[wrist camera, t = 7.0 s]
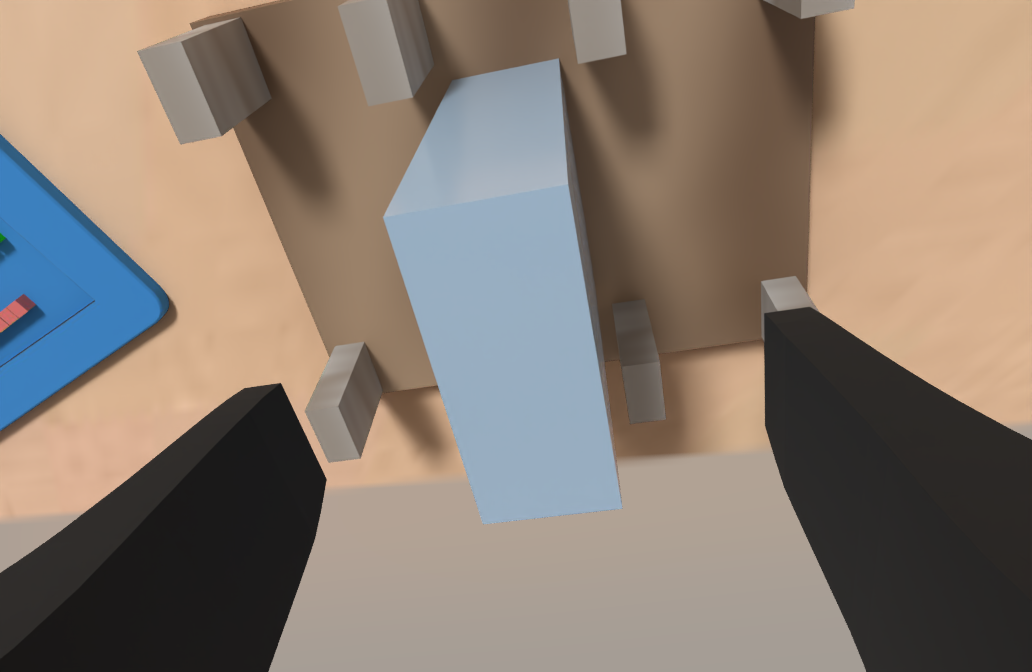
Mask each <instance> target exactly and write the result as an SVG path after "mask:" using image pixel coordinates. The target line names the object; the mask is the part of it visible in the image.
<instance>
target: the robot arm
mask: <svg viewBox="0 0 1032 672" xmlns="http://www.w3.org/2000/svg"><path fill="white" fill-rule="evenodd" d="M764 355H765V427H766V430H767V434H768V437H769V440H770V444H771V447H772V450H773V454H774V456H775V460H776V463H777V466H778V469H779V473H780V476H781V479H782V482H783V485H784V488H785V490H786V492H787V494H788V497H789V499H790V501H791V504H792V506H793V508H794V510H795V512H796V515H797V517H798V519H799V521H800V523H801V526H802V528H803V530H804V532H805V534H806V537H807V539H808V541H809V543H810V545H811V547H812V550H813V552H814V554H815V556H816V558H817V560H818V563H819V565H820V567H821V569H822V571H823V573H824V575H825V578H826V580H827V582H828V584H829V586H830V589H831V590H832V593H833V595H834V597H835V599H836V601H837V604H838V606H839V608H840V610H841V612H842V615H843V617H844V619H845V621H846V623H847V625H848V628H849V630H850V632H851V635H852V637H853V639H854V642H855V644H856V646H857V649H858V651H859V654H860V656H861V659H862V661H863V664H864V666H865V669H866V672H1032V440H1031V439H1029V438H1027V437H1025V436H1023V435H1021V434H1019V433H1017V432H1015V431H1013V430H1011V429H1009V428H1007V427H1006V426H1004V425H1002V424H1000V423H998V422H996V421H995V420H993V419H991V418H989V417H987V416H985V415H984V414H982V413H980V412H978V411H976V410H974V409H973V408H971V407H969V406H967V405H965V404H964V403H962V402H960V401H958V400H956V399H955V398H953V397H951V396H950V395H948V394H946V393H944V392H943V391H941V390H939V389H938V388H936V387H934V386H932V385H931V384H929V383H928V382H926V381H924V380H923V379H921V378H919V377H918V376H916V375H914V374H913V373H911V372H910V371H908V370H906V369H905V368H903V367H902V366H900V365H898V364H897V363H895V362H894V361H892V360H891V359H889V358H888V357H886V356H884V355H883V354H881V353H880V352H878V351H877V350H875V349H874V348H872V347H871V346H869V345H868V344H866V343H865V342H863V341H862V340H860V339H859V338H857V337H856V336H854V335H853V334H851V333H850V332H848V331H847V330H845V329H844V328H842V327H841V326H839V325H838V324H836V323H835V322H833V321H832V320H830V319H829V318H827V317H826V316H824V315H823V314H821V313H820V312H818V311H816V310H815V309H813V308H812V307H803V308H796V309H790V310H783V311H776V312H769V313H764ZM326 480H327V479H326V477H325V475H324V473H323V471H322V469H321V467H320V464H319V462H318V460H317V458H316V456H315V454H314V452H313V450H312V448H311V445H310V443H309V441H308V439H307V437H306V435H305V433H304V431H303V429H302V427H301V424H300V422H299V420H298V418H297V416H296V414H295V412H294V410H293V408H292V405H291V403H290V401H289V399H288V397H287V395H286V393H285V391H284V389H283V387H282V384H281V383H278V384H271V385H264V386H257V387H250V388H244V389H243V390H241V391H240V392H238V393H237V394H235V395H233V396H232V397H231V398H229V399H228V400H226V401H225V402H224V403H222V404H221V405H220V406H218V407H217V408H216V409H214V410H213V411H212V412H211V413H209V414H208V415H207V416H205V417H204V418H203V419H202V420H200V421H199V422H198V423H197V424H196V425H194V426H193V427H192V428H191V429H189V430H188V431H187V432H186V433H184V434H183V435H182V436H181V437H180V438H178V439H177V440H176V441H175V442H173V443H172V444H171V445H170V446H168V447H167V448H166V449H165V450H164V451H162V452H161V453H160V454H159V455H157V456H156V457H155V458H154V459H152V460H151V461H150V462H149V463H148V464H146V465H145V466H144V467H143V468H141V469H140V470H139V471H138V472H136V473H135V474H134V475H133V476H132V477H130V478H129V479H128V480H127V481H125V482H124V483H123V484H121V485H120V486H119V487H117V488H116V489H115V490H114V491H112V492H111V493H110V494H108V495H107V496H106V497H104V498H103V499H102V500H101V501H99V502H98V503H97V504H95V505H94V506H93V507H91V508H90V509H89V510H88V511H86V512H85V513H84V514H82V515H81V516H80V517H78V518H77V519H76V520H74V521H73V522H72V523H71V524H69V525H68V526H67V527H65V528H64V529H63V530H62V531H60V532H59V533H57V534H56V535H55V536H53V537H52V538H50V539H49V540H48V541H46V542H45V543H43V544H42V545H41V546H39V547H38V548H36V549H35V550H34V551H32V552H31V553H29V554H28V555H26V556H25V557H23V558H22V559H21V560H19V561H18V562H16V563H15V564H13V565H12V566H10V567H9V568H7V569H6V570H4V571H3V572H1V573H0V672H268V671H269V668H270V665H271V662H272V660H273V657H274V654H275V651H276V649H277V646H278V643H279V640H280V637H281V634H282V632H283V629H284V626H285V623H286V621H287V618H288V615H289V612H290V609H291V607H292V604H293V601H294V598H295V595H296V592H297V590H298V587H299V584H300V581H301V578H302V575H303V572H304V570H305V567H306V564H307V561H308V558H309V555H310V552H311V549H312V546H313V543H314V540H315V536H316V532H317V527H318V522H319V517H320V513H321V508H322V503H323V497H324V491H325V486H326Z"/></svg>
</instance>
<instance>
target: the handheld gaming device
mask: <svg viewBox="0 0 1032 672" xmlns="http://www.w3.org/2000/svg"><path fill="white" fill-rule="evenodd" d="M168 308H169V300H168V297H167V295H166V293H165V291H164V290H163V289H162V288H161V287H160V286H159V285H158V284H157V283H156V282H155V281H154V280H153V279H152V278H151V277H150V276H149V275H148V274H147V273H146V272H145V271H144V270H143V269H142V268H141V267H140V266H138V265H137V264H136V263H135V262H134V261H133V260H132V259H131V258H130V257H129V256H128V255H127V254H126V253H125V252H124V251H123V250H122V249H121V248H120V247H118V246H117V245H116V244H115V243H114V242H113V241H112V240H111V239H110V238H109V237H108V236H107V235H106V234H105V233H104V232H103V231H102V230H101V229H100V228H98V227H97V226H96V225H95V224H94V223H93V222H92V221H91V220H90V219H89V218H88V217H87V216H86V215H85V214H84V213H83V212H82V211H81V210H80V209H78V208H77V207H76V206H75V205H74V204H73V203H72V202H71V201H70V200H69V199H68V198H67V197H66V196H65V195H64V194H63V193H62V192H61V191H60V190H58V189H57V188H56V187H55V186H54V185H53V184H52V183H51V182H50V181H49V180H48V179H47V178H46V177H45V176H44V175H43V174H42V173H41V172H40V171H38V170H37V169H36V168H35V167H34V166H33V165H32V164H31V163H30V162H29V161H28V160H27V159H26V158H25V157H24V156H23V155H22V154H21V153H20V152H18V151H17V150H16V149H15V148H14V147H13V146H12V145H11V144H10V143H9V142H8V141H7V140H6V139H5V138H4V137H3V136H2V135H1V134H0V431H1V430H3V429H4V428H6V427H7V426H9V425H10V424H11V423H13V422H14V421H16V420H17V419H19V418H20V417H22V416H23V415H24V414H26V413H27V412H29V411H30V410H32V409H33V408H34V407H36V406H37V405H39V404H40V403H42V402H43V401H45V400H46V399H47V398H49V397H50V396H52V395H53V394H55V393H56V392H58V391H59V390H60V389H62V388H63V387H65V386H66V385H68V384H69V383H71V382H72V381H73V380H75V379H76V378H78V377H79V376H81V375H82V374H84V373H85V372H86V371H88V370H89V369H91V368H92V367H94V366H95V365H97V364H98V363H99V362H101V361H102V360H104V359H105V358H107V357H108V356H109V355H111V354H112V353H114V352H115V351H117V350H118V349H120V348H121V347H122V346H124V345H125V344H127V343H128V342H130V341H131V340H133V339H134V338H135V337H137V336H138V335H140V334H141V333H143V332H144V331H146V330H147V329H148V328H150V327H151V326H153V325H154V324H156V323H157V322H158V321H159V320H160V319H161V318H162V317H163V316H164V315H165V313H166V312H167V311H168Z"/></svg>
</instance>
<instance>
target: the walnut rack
mask: <svg viewBox="0 0 1032 672" xmlns="http://www.w3.org/2000/svg"><path fill="white" fill-rule="evenodd" d="M854 2H855V0H279V1H275V2H271V3H266V4H262V5H258V6H253V7H249V8H244V9H240V10H236V11H231V12H227V13H223V14H218V15H214V16H209V17H206V18H204V19H201V20H198V21H195V22H193V23H190V25H191V28H192V30H191V31H188V32H186V33H183V34H181V35H178V36H176V37H173V38H170V39H168V40H165V41H163V42H160V43H157V44H155V45H152V46H150V47H147V48H145V49H142V50H139V51H137V52H138V54H139V56H140V59H141V61H142V63H143V65H144V67H145V69H146V71H147V74H148V76H149V78H150V80H151V82H152V84H153V87H154V89H155V91H156V93H157V95H158V97H159V99H160V102H161V104H162V106H163V108H164V110H165V112H166V114H167V117H168V119H169V121H170V123H171V125H172V127H173V129H174V132H175V134H176V136H177V138H178V140H179V142H180V144H185V143H190V142H195V141H200V140H205V139H210V138H215V137H220V136H222V135H224V134H225V133H226V132H228V131H229V130H230V129H232V128H234V131H235V133H236V135H237V138H238V140H239V142H240V145H241V147H242V150H243V152H244V154H245V157H246V159H247V162H248V164H249V166H250V169H251V171H252V173H253V176H254V178H255V181H256V183H257V185H258V188H259V190H260V193H261V195H262V197H263V200H264V202H265V205H266V207H267V209H268V212H269V214H270V216H271V219H272V221H273V224H274V226H275V228H276V231H277V233H278V236H279V238H280V240H281V243H282V245H283V247H284V250H285V252H286V255H287V257H288V259H289V262H290V264H291V267H292V269H293V271H294V274H295V276H296V279H297V281H298V283H299V286H300V288H301V290H302V293H303V295H304V298H305V300H306V302H307V305H308V307H309V310H310V312H311V314H312V317H313V319H314V321H315V324H316V326H317V329H318V331H319V333H320V336H321V338H322V341H323V343H324V345H325V348H326V350H327V353H328V355H329V357H330V358H329V360H328V362H327V365H326V367H325V369H324V371H323V373H322V375H321V377H320V380H319V382H318V384H317V386H316V388H315V390H314V392H313V395H312V397H311V399H310V401H309V403H308V405H307V407H306V410H305V413H306V415H307V417H308V419H309V421H310V424H311V426H312V428H313V430H314V432H315V434H316V436H317V439H318V441H319V443H320V445H321V447H322V449H323V451H324V454H325V456H326V458H327V460H328V462H329V463H330V462H338V461H345V460H353V459H360V458H361V455H362V452H363V449H364V446H365V443H366V440H367V437H368V434H369V431H370V428H371V425H372V422H373V419H374V416H375V413H376V410H377V407H378V404H379V401H380V398H381V395H382V393H387V392H394V391H401V390H408V389H415V388H423V387H430V386H437V385H438V384H437V381H436V378H435V375H434V372H433V369H432V366H431V363H430V360H429V357H428V354H427V351H426V348H425V345H424V342H423V338H422V335H421V332H420V329H419V326H418V323H417V320H416V317H415V314H414V311H413V308H412V305H411V302H410V299H409V296H408V292H407V289H406V286H405V283H404V280H403V277H402V274H401V271H400V268H399V265H398V262H397V259H396V256H395V253H394V250H393V247H392V243H391V240H390V237H389V234H388V231H387V228H386V225H385V222H384V219H383V216H384V214H385V212H386V210H387V208H388V206H389V204H390V202H391V201H392V199H393V197H394V195H395V193H396V191H397V189H398V187H399V185H400V183H401V181H402V179H403V177H404V175H405V173H406V171H407V169H408V167H409V165H410V163H411V161H412V159H413V157H414V155H415V153H416V151H417V149H418V147H419V145H420V143H421V141H422V139H423V137H424V135H425V133H426V131H427V129H428V127H429V125H430V123H431V121H432V119H433V117H434V115H435V113H436V111H437V109H438V107H439V105H440V103H441V101H442V99H443V97H444V95H445V93H446V91H447V89H448V88H449V86H450V84H451V82H452V80H456V79H461V78H466V77H470V76H475V75H480V74H485V73H490V72H495V71H500V70H505V69H509V68H514V67H519V66H524V65H529V64H534V63H539V62H544V61H549V60H553V59H558V58H559V62H560V69H561V75H562V81H563V87H564V94H565V100H566V106H567V113H568V119H569V125H570V131H571V138H572V144H573V150H574V157H575V163H576V169H577V176H578V182H579V188H580V194H581V201H582V207H583V213H584V220H585V226H586V232H587V239H588V245H589V251H590V257H591V264H592V270H593V276H594V283H595V289H596V297H597V306H598V314H599V322H600V330H601V338H602V346H603V354H604V362H607V361H614V360H620V363H621V369H622V376H623V382H624V388H625V395H626V401H627V407H628V414H629V420H630V424H635V423H642V422H650V421H658V420H666V415H665V406H664V396H663V387H662V378H661V369H660V361H659V356H658V354H663V353H671V352H678V351H685V350H692V349H699V348H706V347H713V346H720V345H727V344H734V343H741V342H749V341H756V340H763V341H764V313H769V312H776V311H783V310H790V309H796V308H803V307H812V308H813V309H815V310H816V311H818V309H817V308H816V306H815V305H814V303H813V302H812V300H811V299H810V297H809V296H808V294H807V271H808V237H809V202H810V168H811V134H812V99H813V65H814V31H815V16H818V15H823V14H828V13H833V12H838V11H843V10H848V9H853V8H854ZM818 312H819V311H818Z"/></svg>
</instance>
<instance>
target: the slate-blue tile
mask: <svg viewBox="0 0 1032 672" xmlns="http://www.w3.org/2000/svg"><path fill="white" fill-rule="evenodd" d="M383 219H384V222H385V225H386V228H387V231H388V234H389V237H390V240H391V243H392V247H393V250H394V253H395V256H396V259H397V262H398V265H399V268H400V271H401V274H402V277H403V280H404V283H405V286H406V289H407V292H408V296H409V299H410V302H411V305H412V308H413V311H414V314H415V317H416V320H417V323H418V326H419V329H420V332H421V335H422V338H423V342H424V345H425V348H426V351H427V354H428V357H429V360H430V363H431V366H432V369H433V372H434V375H435V378H436V381H437V384H438V388H439V391H440V394H441V397H442V400H443V403H444V406H445V409H446V412H447V415H448V418H449V421H450V424H451V427H452V430H453V433H454V437H455V440H456V443H457V446H458V449H459V452H460V455H461V458H462V461H463V464H464V467H465V470H466V473H467V476H468V479H469V483H470V486H471V488H472V491H473V495H474V498H475V501H476V504H477V507H478V510H479V513H480V516H481V519H482V522H483V524H490V523H498V522H507V521H517V520H525V519H534V518H543V517H552V516H561V515H570V514H579V513H588V512H597V511H605V510H615V509H622V501H621V494H620V485H619V477H618V468H617V460H616V452H615V444H614V436H613V428H612V419H611V411H610V403H609V395H608V387H607V379H606V371H605V363H604V354H603V346H602V338H601V330H600V322H599V314H598V306H597V297H596V289H595V283H594V276H593V270H592V264H591V257H590V251H589V245H588V239H587V232H586V226H585V220H584V213H583V207H582V201H581V194H580V188H579V182H578V176H577V169H576V163H575V157H574V150H573V144H572V138H571V131H570V125H569V119H568V113H567V106H566V100H565V94H564V87H563V81H562V75H561V69H560V62H559V58H558V59H553V60H549V61H544V62H539V63H534V64H529V65H524V66H519V67H514V68H509V69H505V70H500V71H495V72H490V73H485V74H480V75H475V76H470V77H466V78H461V79H456V80H452V82H451V84H450V86H449V88H448V89H447V91H446V93H445V95H444V97H443V99H442V101H441V103H440V105H439V107H438V109H437V111H436V113H435V115H434V117H433V119H432V121H431V123H430V125H429V127H428V129H427V131H426V133H425V135H424V137H423V139H422V141H421V143H420V145H419V147H418V149H417V151H416V153H415V155H414V157H413V159H412V161H411V163H410V165H409V167H408V169H407V171H406V173H405V175H404V177H403V179H402V181H401V183H400V185H399V187H398V189H397V191H396V193H395V195H394V197H393V199H392V201H391V202H390V204H389V206H388V208H387V210H386V212H385V214H384V216H383Z"/></svg>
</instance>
